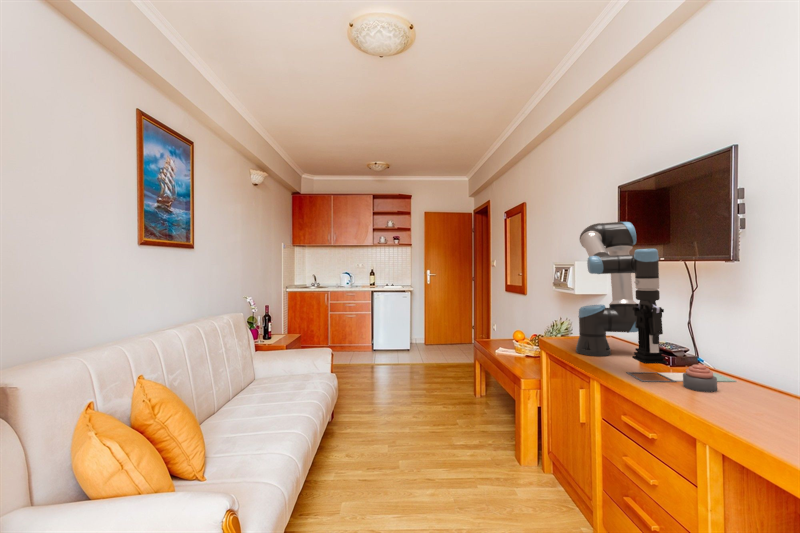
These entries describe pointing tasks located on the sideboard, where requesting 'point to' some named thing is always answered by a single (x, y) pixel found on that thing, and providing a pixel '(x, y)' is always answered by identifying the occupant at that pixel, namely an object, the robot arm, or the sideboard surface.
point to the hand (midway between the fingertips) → (648, 350)
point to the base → (700, 383)
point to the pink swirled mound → (699, 371)
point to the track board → (679, 377)
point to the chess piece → (646, 339)
